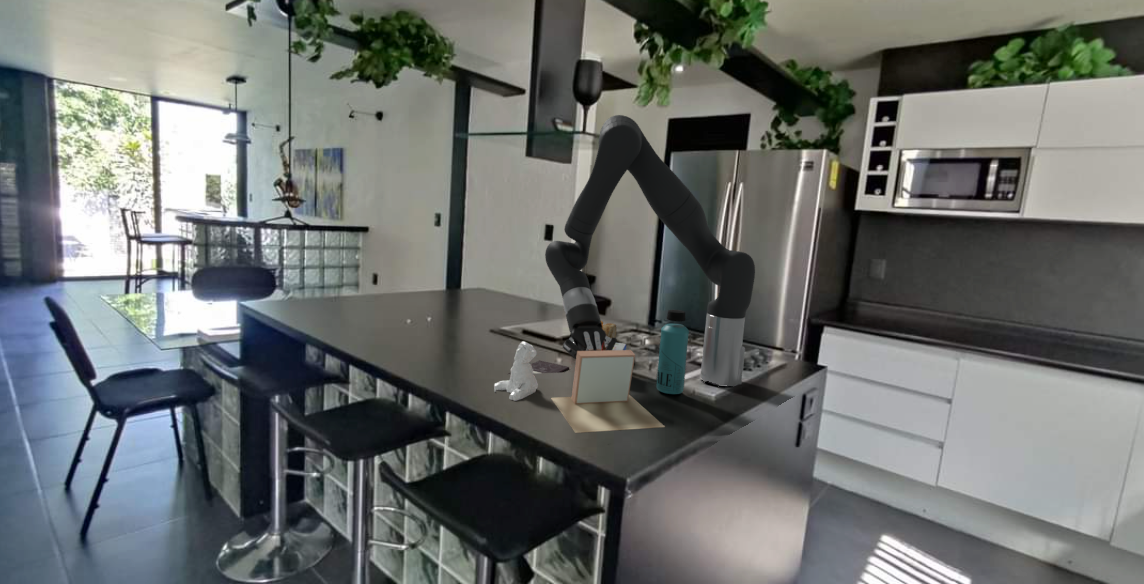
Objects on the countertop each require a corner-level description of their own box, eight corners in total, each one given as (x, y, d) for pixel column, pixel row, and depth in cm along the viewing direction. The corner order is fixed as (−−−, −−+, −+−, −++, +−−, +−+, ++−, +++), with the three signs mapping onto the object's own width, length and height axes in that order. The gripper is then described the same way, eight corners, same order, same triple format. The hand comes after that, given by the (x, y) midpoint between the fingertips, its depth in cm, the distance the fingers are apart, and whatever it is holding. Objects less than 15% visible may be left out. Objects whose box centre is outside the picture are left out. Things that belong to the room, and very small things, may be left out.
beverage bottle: (685, 393, 123) (693, 309, 120) (681, 402, 117) (689, 314, 114) (657, 389, 126) (664, 306, 122) (652, 397, 119) (659, 310, 116)
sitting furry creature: (490, 391, 117) (493, 338, 116) (524, 385, 123) (526, 334, 121) (512, 405, 110) (514, 349, 108) (546, 398, 115) (549, 344, 113)
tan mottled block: (604, 352, 155) (606, 319, 153) (616, 354, 154) (619, 321, 152) (594, 361, 145) (597, 326, 144) (607, 363, 144) (610, 328, 143)
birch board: (628, 397, 118) (628, 394, 118) (664, 430, 101) (665, 426, 101) (550, 401, 113) (550, 397, 113) (575, 436, 96) (575, 432, 96)
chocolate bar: (569, 366, 137) (532, 384, 122) (568, 370, 137) (531, 388, 122) (539, 360, 141) (500, 376, 126) (539, 363, 142) (499, 380, 126)
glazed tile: (623, 395, 116) (630, 350, 113) (628, 402, 114) (635, 355, 110) (571, 398, 113) (577, 351, 109) (574, 404, 110) (580, 356, 107)
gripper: (601, 319, 128) (620, 384, 119) (550, 320, 123) (565, 388, 114) (612, 302, 122) (633, 368, 113) (559, 302, 118) (576, 372, 108)
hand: (599, 378), depth 113 cm, fingers closed
